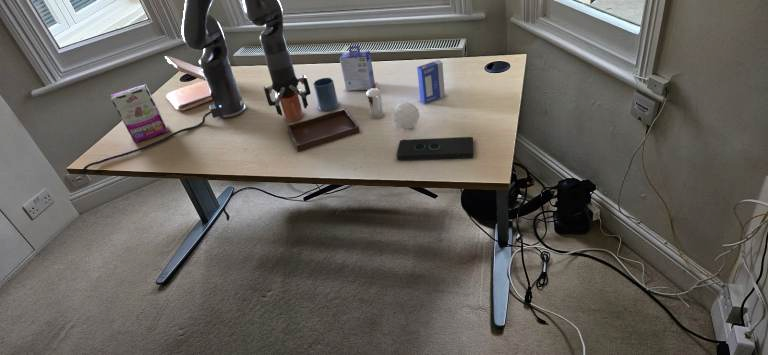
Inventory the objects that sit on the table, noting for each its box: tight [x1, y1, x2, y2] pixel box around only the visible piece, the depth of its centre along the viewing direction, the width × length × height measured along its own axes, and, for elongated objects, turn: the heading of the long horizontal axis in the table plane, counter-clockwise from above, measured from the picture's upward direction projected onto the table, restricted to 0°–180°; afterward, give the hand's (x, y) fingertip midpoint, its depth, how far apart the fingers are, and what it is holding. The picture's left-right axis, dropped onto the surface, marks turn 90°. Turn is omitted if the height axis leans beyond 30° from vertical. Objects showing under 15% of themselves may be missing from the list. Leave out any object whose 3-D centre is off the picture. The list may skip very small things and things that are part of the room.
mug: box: [279, 92, 304, 122], centre depth 152 cm, size 8×6×8 cm
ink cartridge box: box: [339, 45, 376, 92], centre depth 163 cm, size 10×6×14 cm, turn 78°
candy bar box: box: [110, 83, 169, 144], centre depth 155 cm, size 11×5×16 cm, turn 117°
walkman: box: [416, 59, 446, 105], centre depth 148 cm, size 8×3×12 cm, turn 116°
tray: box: [287, 108, 361, 153], centre depth 143 cm, size 19×14×2 cm
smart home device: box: [396, 136, 474, 161], centre depth 126 cm, size 8×2×20 cm
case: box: [164, 55, 213, 112], centre depth 178 cm, size 20×21×16 cm
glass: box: [313, 77, 339, 112], centre depth 155 cm, size 6×6×9 cm
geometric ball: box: [392, 101, 420, 130], centre depth 137 cm, size 8×8×8 cm
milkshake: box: [365, 81, 384, 119], centre depth 145 cm, size 5×5×10 cm
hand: (293, 111), depth 154 cm, fingers open, 7 cm apart
